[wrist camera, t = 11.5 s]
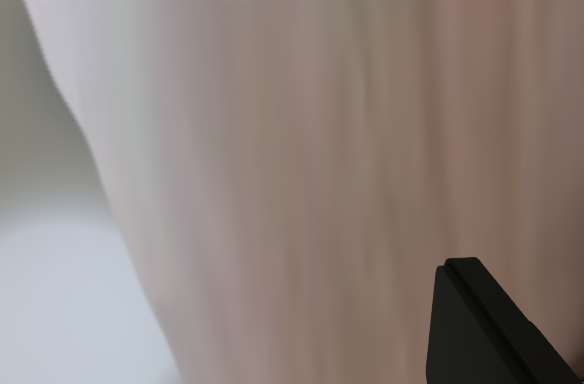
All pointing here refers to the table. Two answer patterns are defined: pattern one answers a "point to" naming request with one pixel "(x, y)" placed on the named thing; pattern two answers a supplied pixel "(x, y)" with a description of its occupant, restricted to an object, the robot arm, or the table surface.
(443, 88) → the table surface
